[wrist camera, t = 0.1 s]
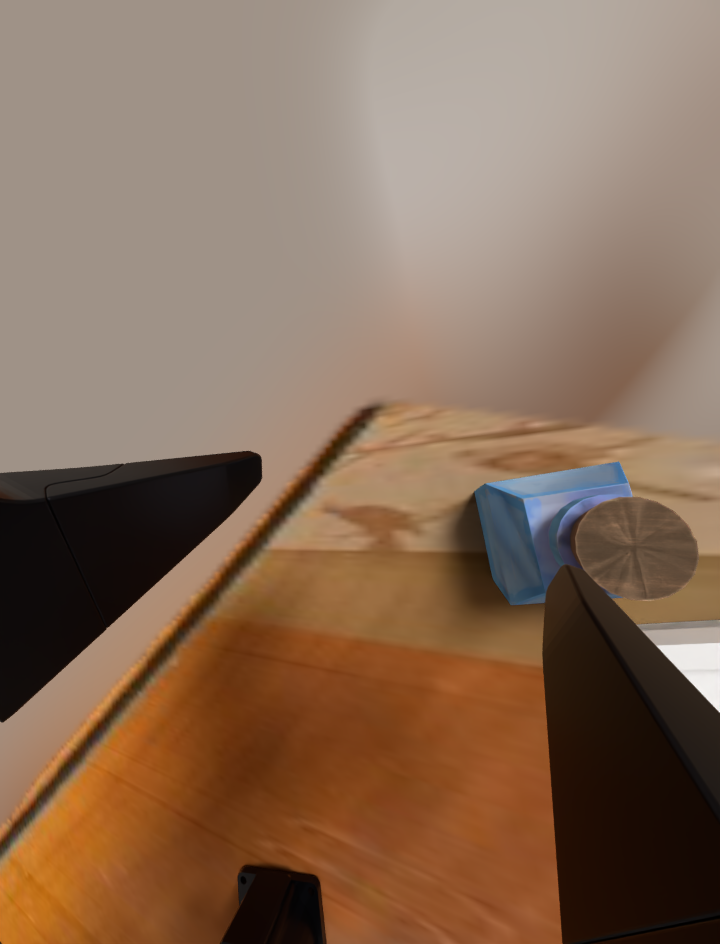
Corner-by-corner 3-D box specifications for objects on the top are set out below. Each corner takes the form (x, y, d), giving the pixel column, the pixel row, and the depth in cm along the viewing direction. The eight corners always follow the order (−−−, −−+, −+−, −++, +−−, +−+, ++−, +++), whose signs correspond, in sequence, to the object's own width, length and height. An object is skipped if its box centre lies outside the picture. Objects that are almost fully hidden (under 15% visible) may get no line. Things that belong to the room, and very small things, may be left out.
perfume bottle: (492, 579, 21) (548, 658, 10) (474, 491, 22) (505, 468, 11) (594, 570, 20) (804, 651, 8) (569, 476, 21) (724, 430, 9)
